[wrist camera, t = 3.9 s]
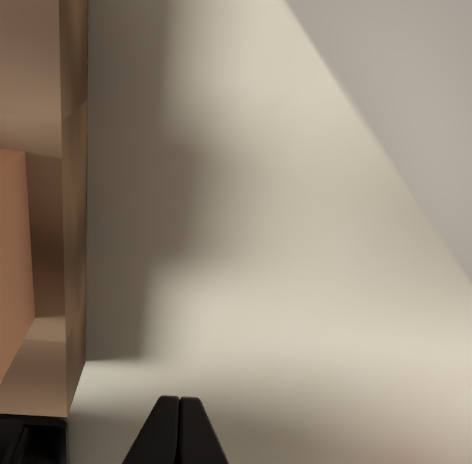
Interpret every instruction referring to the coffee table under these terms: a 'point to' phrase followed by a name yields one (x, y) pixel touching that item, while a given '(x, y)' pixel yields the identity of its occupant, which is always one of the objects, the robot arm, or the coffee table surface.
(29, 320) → the block
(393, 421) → the coffee table surface
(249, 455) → the coffee table surface
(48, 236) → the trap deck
